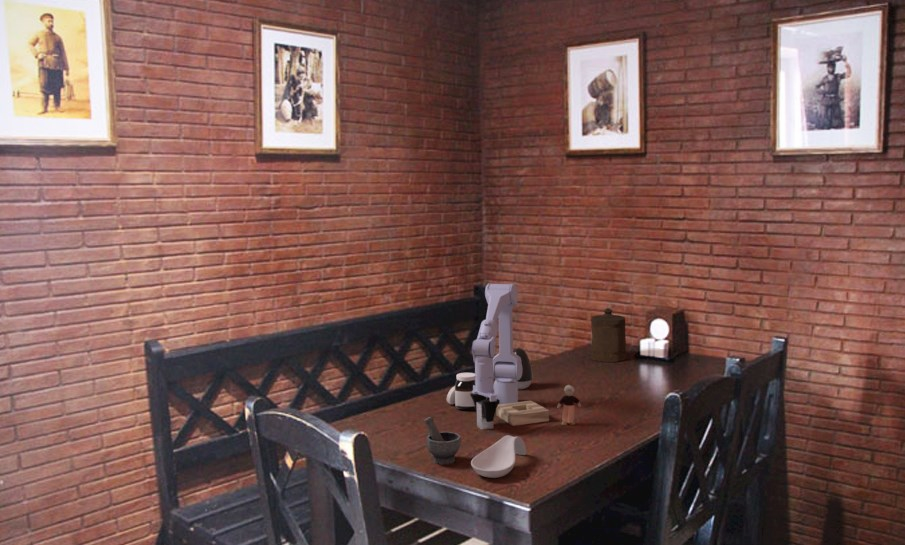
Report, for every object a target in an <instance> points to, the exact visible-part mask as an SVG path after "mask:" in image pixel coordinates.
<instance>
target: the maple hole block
mask: <svg viewBox="0 0 905 545" xmlns="http://www.w3.org/2000/svg"><path fill="white" fill-rule="evenodd" d="M495 415H496V416H497V417H498V418H500V419H501V420H503V421H505V423H507V424H509V425H510V426H512V427H514V426H523V425H529V424H537V423H542V422H549V421H550V410H549V409H547V408H545V407H544V406H542V405H540V404H538V403H537V402H535V401H532V400H524V401H518V402H516V403H508V404H501V405H498V406H497V408H496V411H495Z"/></svg>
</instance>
